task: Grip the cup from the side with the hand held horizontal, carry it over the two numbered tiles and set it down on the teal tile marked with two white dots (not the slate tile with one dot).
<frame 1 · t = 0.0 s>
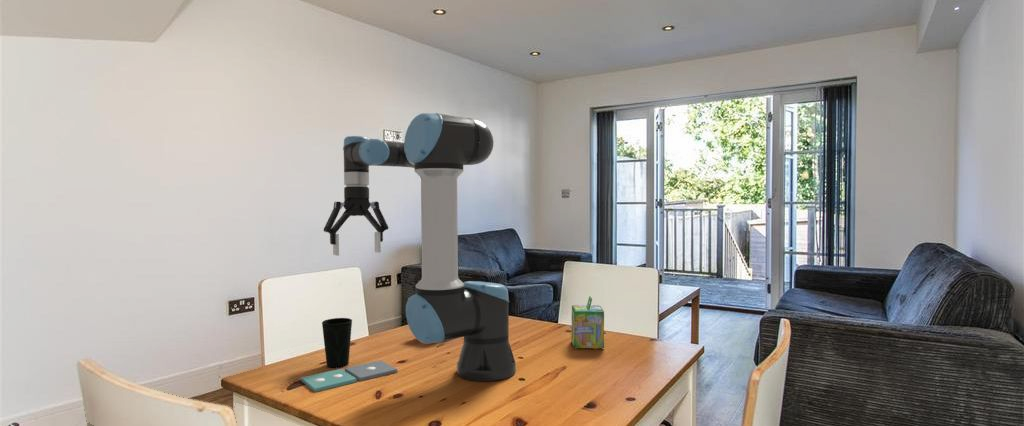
hand: (357, 253, 158), 28 cm above the table, tool pointing down, fingers open, 13 cm apart
cup: (337, 365, 136), on the table
puzzle cube: (440, 337, 166), on the table
tile two: (328, 381, 124), on the table
green printed box: (587, 346, 154), on the table
tile one: (370, 371, 131), on the table
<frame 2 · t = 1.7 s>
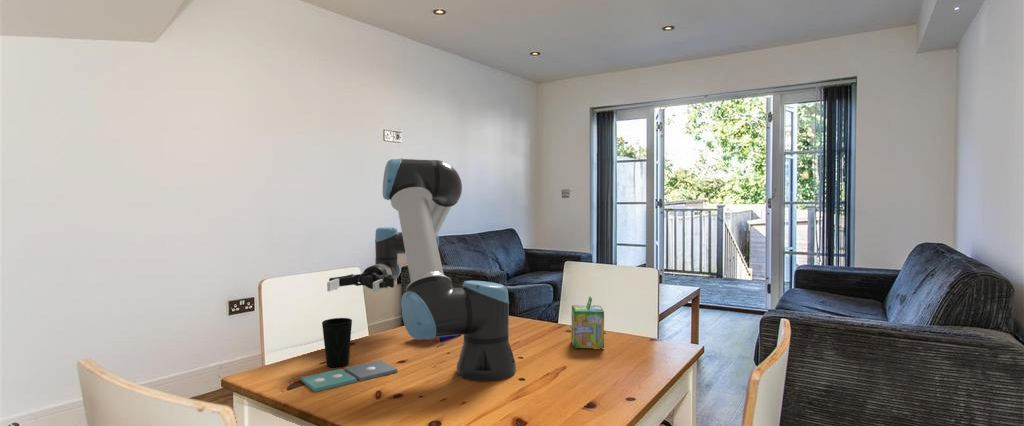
hand: (351, 286, 146), 20 cm above the table, tool horizontal, fingers open, 13 cm apart
nothing on the table moved.
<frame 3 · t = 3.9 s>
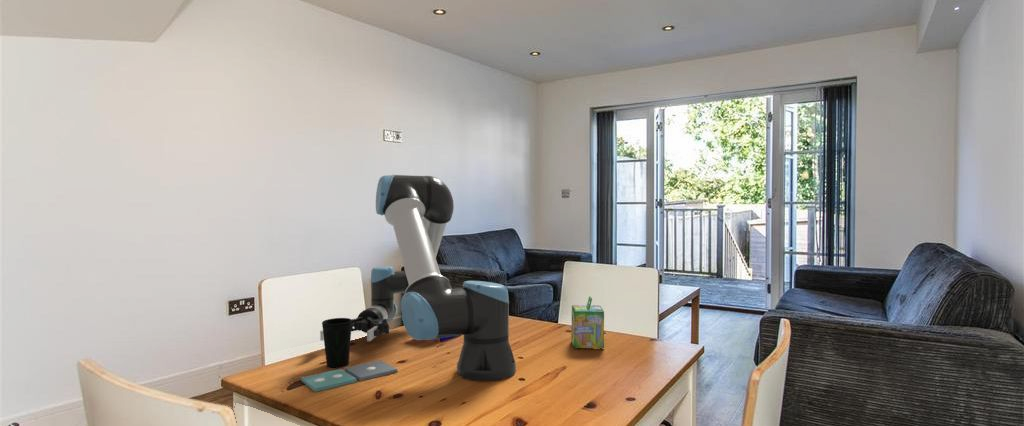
hand: (344, 336, 142), 6 cm above the table, tool horizontal, fingers open, 13 cm apart
nothing on the table moved.
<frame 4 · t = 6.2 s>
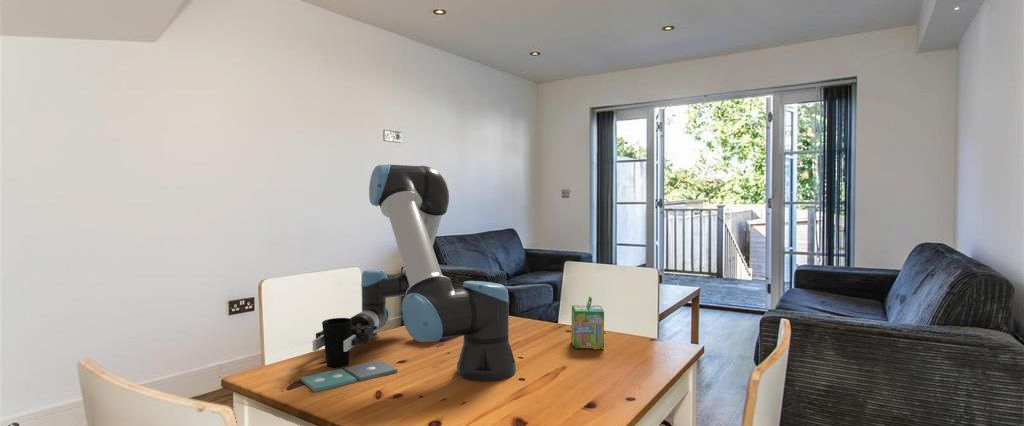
hand: (329, 346, 131), 7 cm above the table, tool horizontal, fingers closed on cup, 8 cm apart
cup: (337, 365, 136), on the table, touching gripper
everything else where it was.
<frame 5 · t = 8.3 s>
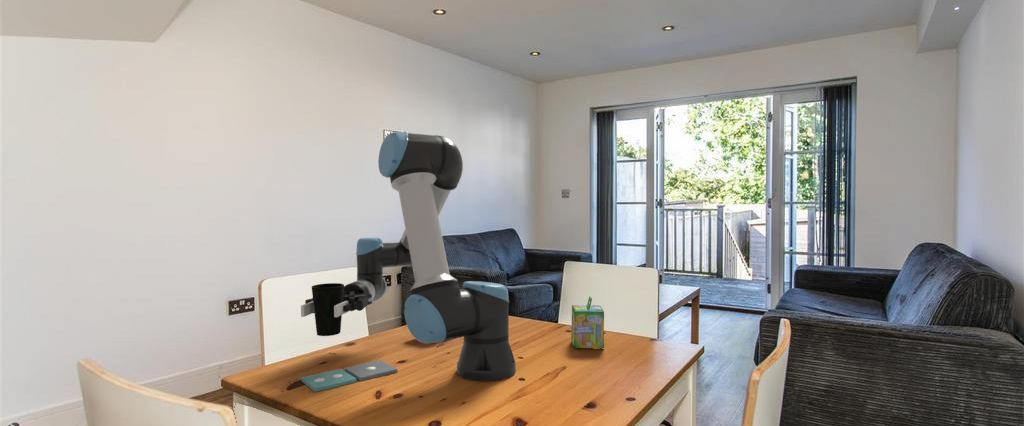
hand: (319, 311, 121), 18 cm above the table, tool horizontal, fingers closed on cup, 8 cm apart
cup: (328, 334, 126), point 11 cm above the table, touching gripper
everything else where it was.
when the fingers open (9 cm above the table, at t = 10.6 s): cup drops 2 cm, resting on tile two.
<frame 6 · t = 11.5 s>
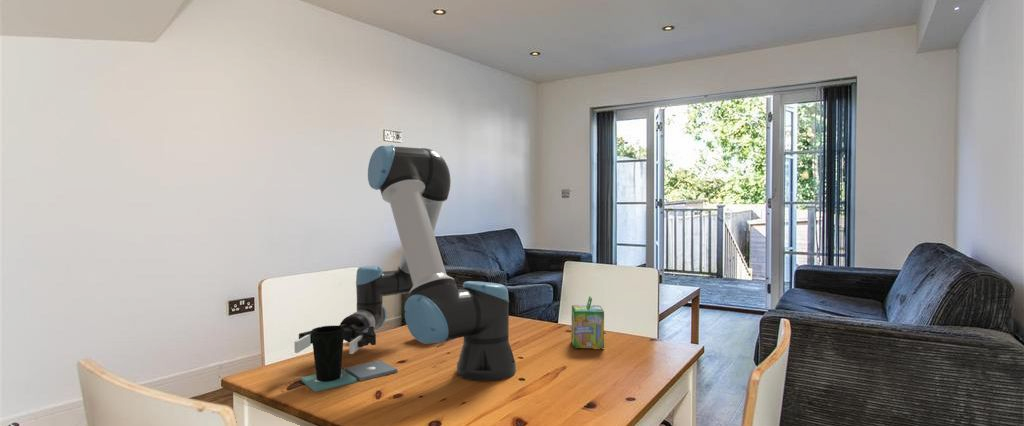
hand: (323, 347, 121), 9 cm above the table, tool horizontal, fingers open, 13 cm apart
cup: (328, 378, 124), point 1 cm above the table, touching tile two
everything else where it was.
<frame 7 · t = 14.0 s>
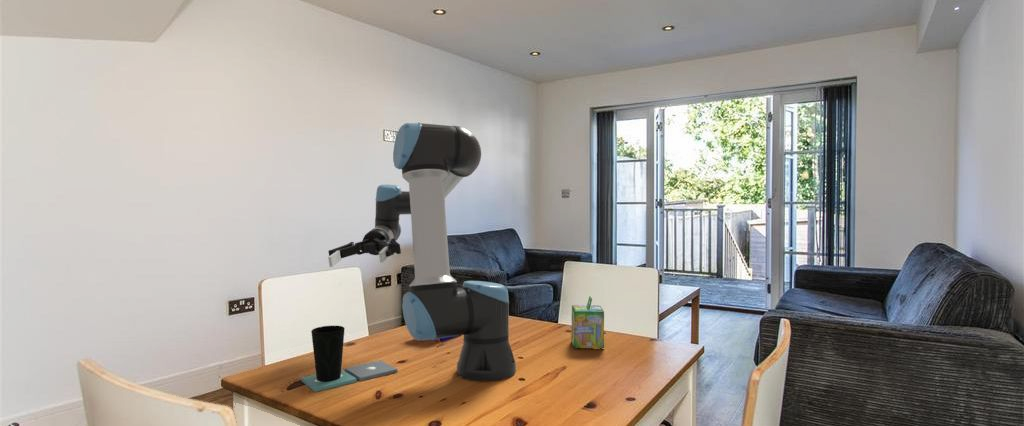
hand: (355, 259, 133), 29 cm above the table, tool horizontal, fingers open, 13 cm apart
nothing on the table moved.
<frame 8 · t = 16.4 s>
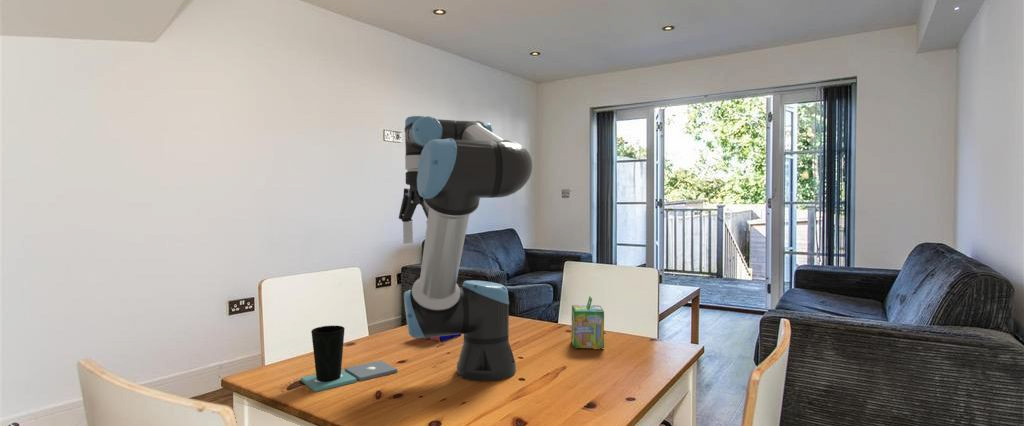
hand: (419, 244, 145), 32 cm above the table, tool pointing down, fingers open, 13 cm apart
nothing on the table moved.
at the end: cup inside the target area on the tile two (0.1 cm from its centre), point 0.7 cm above the tile two's base; cup tilted 0°; the gripper is holding nothing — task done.
